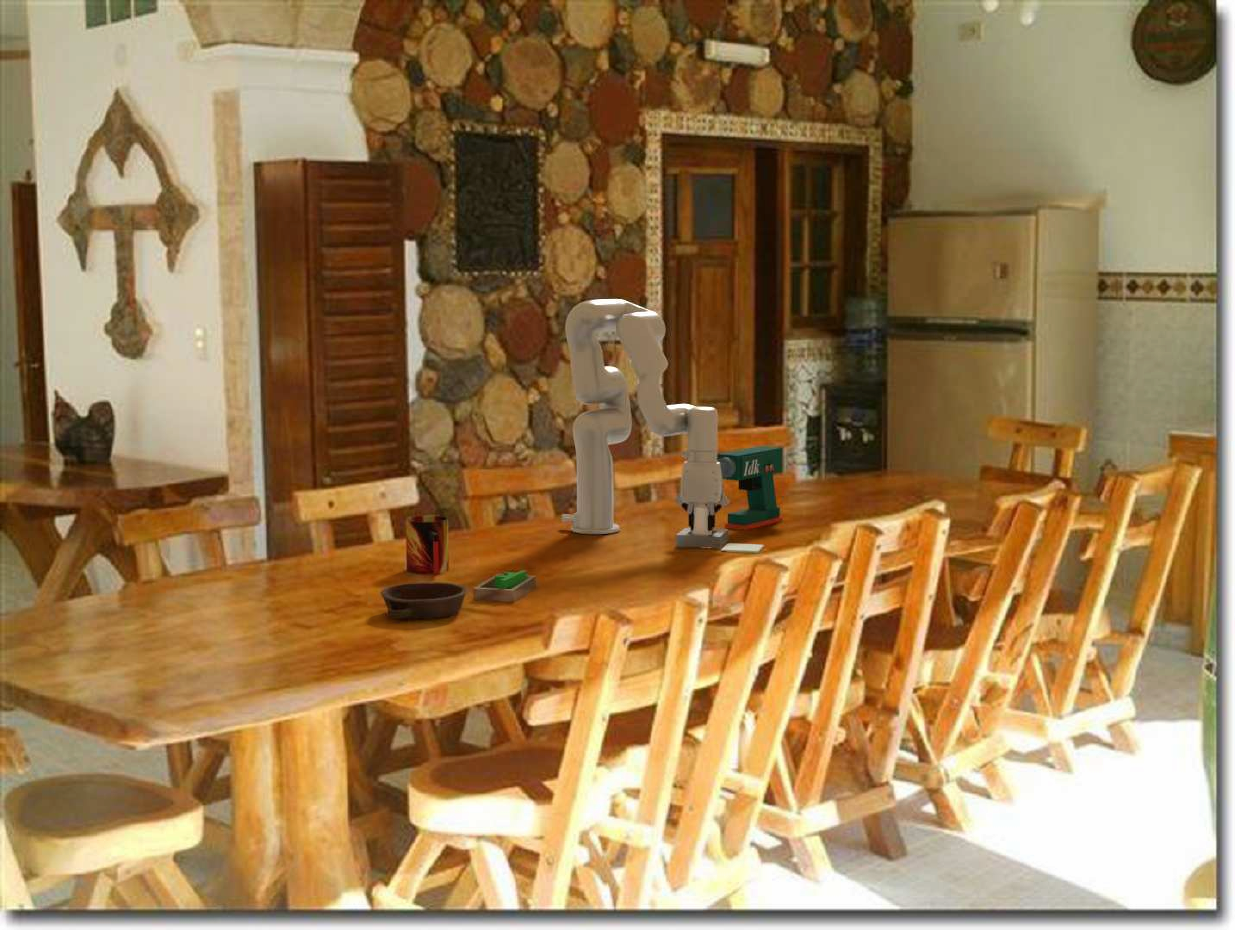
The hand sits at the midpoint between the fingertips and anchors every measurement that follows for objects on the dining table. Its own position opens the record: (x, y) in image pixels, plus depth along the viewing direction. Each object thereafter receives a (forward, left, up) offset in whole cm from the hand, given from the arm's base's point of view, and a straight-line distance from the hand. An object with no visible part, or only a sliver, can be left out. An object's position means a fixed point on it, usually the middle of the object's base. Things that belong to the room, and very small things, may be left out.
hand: (701, 529), depth 417 cm
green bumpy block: (-28, -70, -4) cm, 75 cm away
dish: (-39, -91, -4) cm, 99 cm away
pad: (+11, -5, -4) cm, 13 cm away
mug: (-53, -49, -4) cm, 72 cm away
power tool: (+5, +26, -4) cm, 27 cm away
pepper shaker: (0, 0, -3) cm, 3 cm away
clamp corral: (-29, -69, -4) cm, 74 cm away
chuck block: (0, 0, -4) cm, 4 cm away
